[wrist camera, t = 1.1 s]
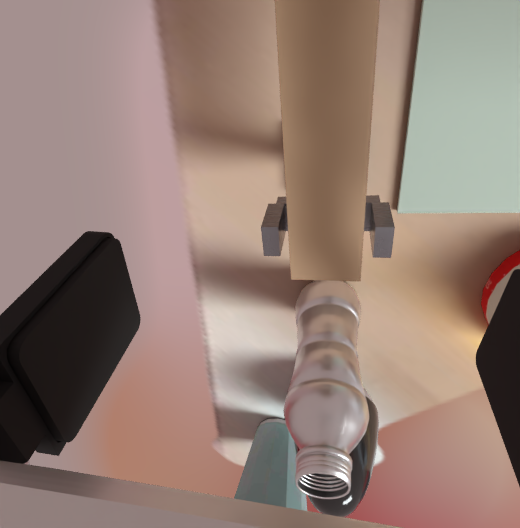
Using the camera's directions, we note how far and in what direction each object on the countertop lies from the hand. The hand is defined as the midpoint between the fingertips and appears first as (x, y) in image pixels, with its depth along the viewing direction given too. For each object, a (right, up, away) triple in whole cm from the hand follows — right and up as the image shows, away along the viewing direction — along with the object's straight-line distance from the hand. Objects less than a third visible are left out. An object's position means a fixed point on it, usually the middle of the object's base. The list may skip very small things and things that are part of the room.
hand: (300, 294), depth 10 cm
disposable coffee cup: (+2, -24, +49) cm, 55 cm away
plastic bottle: (+6, -2, +32) cm, 33 cm away
